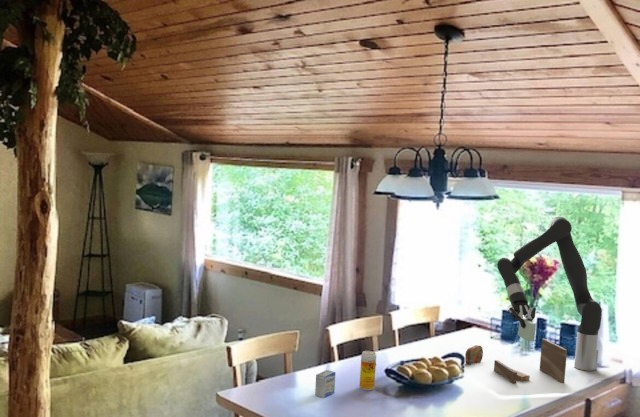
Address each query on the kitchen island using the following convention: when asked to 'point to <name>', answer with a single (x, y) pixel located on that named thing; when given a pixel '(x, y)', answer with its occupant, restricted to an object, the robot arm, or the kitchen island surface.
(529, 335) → the pale green block
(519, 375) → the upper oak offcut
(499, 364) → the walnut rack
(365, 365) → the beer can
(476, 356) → the brown rounded slab
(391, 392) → the kitchen island surface
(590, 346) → the robot arm
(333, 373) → the medicine box
